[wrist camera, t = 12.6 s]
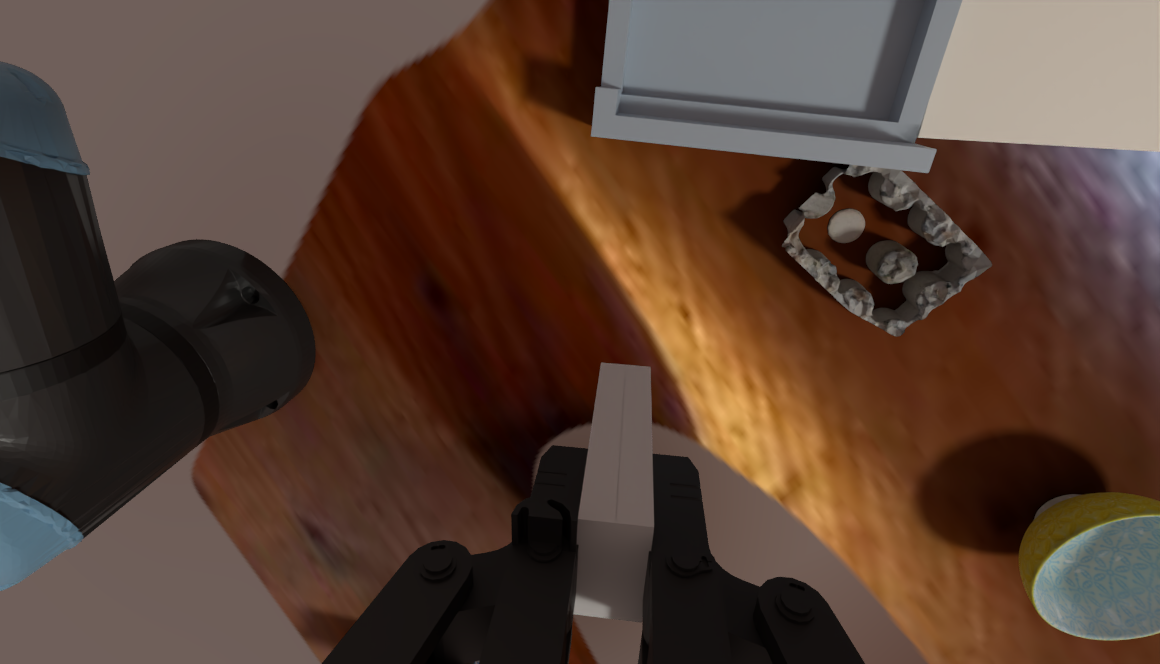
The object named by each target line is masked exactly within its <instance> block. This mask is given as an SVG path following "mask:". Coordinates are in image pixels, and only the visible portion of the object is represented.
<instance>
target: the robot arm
mask: <svg viewBox="0 0 1160 664" xmlns="http://www.w3.org/2000/svg"><path fill="white" fill-rule="evenodd" d="M89 174H90V172H89V168H88V166H87V164H86V163H84V162H83V161H82V160H81V156H80V153H79V151H78V147H77V145H76V142H75V139H74V136H73V133H72V130H71V128H70V124H69V122H68V118H67V115H66V112H65V109H64V106H63V104H62V102H61V100H60V98H59V97H58V95H57V94H56V93H55V91H54V90H53V89H52V88H51V87H50V86H49V85H48V84H47V83H45V82H44V81H43V80H42V79H40V78H39V77H37V76H36V75H34V74H33V73H31V72H29V71H27V70H25V69H22V68H20V67H17V66H15V65H11V64H8V63H4V62H0V591H2V590H5V589H7V588H9V587H11V586H13V585H15V584H17V583H19V582H21V581H22V580H24V579H25V578H26V577H28V576H29V575H31V574H32V573H33V572H35V571H36V570H38V569H39V568H41V567H42V566H43V565H45V564H46V563H48V562H49V561H50V560H52V559H53V558H54V557H56V556H58V555H59V554H60V553H62V552H63V551H65V550H67V549H71V548H73V547H75V546H76V545H77V544H78V543H79V542H81V541H82V539H83V538H85V537H86V536H87V535H88V534H89V533H91V532H92V531H93V530H94V529H96V528H97V527H98V526H99V525H101V524H102V523H103V522H104V521H106V520H107V519H108V518H109V517H110V516H112V515H113V514H114V513H115V512H116V511H118V510H119V509H120V508H121V507H123V506H124V505H125V504H126V503H127V502H129V501H130V500H131V499H132V498H134V497H135V496H136V495H137V494H139V493H140V492H141V491H142V490H144V489H145V488H146V487H147V486H149V485H150V484H151V483H152V482H153V481H155V480H156V479H157V478H158V477H160V476H161V475H162V474H163V473H164V472H166V471H167V470H168V469H169V468H171V467H172V466H173V465H174V464H176V462H178V461H179V460H180V459H182V458H183V457H184V456H185V455H187V454H188V453H189V452H190V451H191V450H193V449H194V448H195V447H197V446H198V445H199V444H200V443H202V442H203V441H204V440H205V439H207V438H208V437H210V436H212V435H215V434H218V433H221V432H224V431H226V430H229V429H232V428H235V427H238V426H240V425H243V424H246V423H249V422H252V421H255V420H257V419H260V418H263V417H266V416H268V415H270V414H272V413H274V412H276V411H277V410H279V409H280V408H282V407H283V406H284V405H285V404H287V403H288V402H289V401H290V400H291V399H292V398H294V397H295V396H296V395H297V394H298V393H299V392H300V391H301V390H302V389H303V388H304V387H305V385H306V384H307V382H308V381H309V379H310V377H311V374H312V371H313V368H314V363H315V341H314V335H313V331H312V328H311V325H310V322H309V319H308V317H307V315H306V313H305V310H304V309H303V307H302V305H301V303H300V302H299V300H298V298H297V297H296V296H295V294H294V293H293V291H292V290H291V289H290V288H289V286H288V285H287V284H286V283H285V282H284V281H283V280H282V279H281V278H280V277H279V276H278V275H277V274H276V273H275V272H274V271H273V270H272V269H271V268H269V267H268V266H267V265H266V264H264V263H263V262H261V261H260V260H258V259H257V258H255V257H254V256H252V255H250V254H249V253H247V252H245V251H243V250H240V249H238V248H236V247H233V246H231V245H228V244H225V243H221V242H216V241H211V240H187V241H182V242H178V243H175V244H172V245H169V246H166V247H163V248H160V249H157V250H155V251H152V252H150V253H148V254H146V255H145V256H143V257H141V258H140V259H139V260H137V261H136V262H135V263H134V264H132V266H131V267H130V268H129V269H128V270H127V271H126V272H124V273H123V274H122V275H121V276H120V277H119V278H117V279H116V280H115V281H114V280H113V276H112V273H111V269H110V265H109V262H108V259H107V255H106V251H105V247H104V243H103V240H102V236H101V232H100V228H99V224H98V220H97V216H96V212H95V208H94V204H93V200H92V196H91V191H90V187H89V183H88V179H87V175H89ZM511 516H512V542H511V543H510V544H508V545H507V546H505V547H503V548H501V549H499V550H495V551H492V552H487V553H481V554H475V555H471V554H470V553H469V551H468V550H467V549H466V547H464V546H462V545H461V544H459V543H457V542H453V541H446V540H442V541H436V542H430V543H428V544H426V545H424V546H422V547H420V548H418V549H417V550H416V551H415V552H414V553H413V554H411V555H410V556H409V557H408V559H407V560H406V561H405V562H404V563H403V565H402V566H401V567H400V568H399V570H398V571H397V572H396V573H395V575H394V576H393V577H392V578H391V579H390V581H389V582H388V583H387V584H386V586H385V587H384V588H383V589H382V590H381V592H380V593H379V594H378V595H377V597H376V598H375V599H374V600H373V601H372V603H371V604H370V605H369V606H368V608H367V609H366V610H365V611H364V612H363V614H362V615H361V616H360V617H359V619H358V620H357V621H356V622H355V624H354V625H353V626H352V627H351V628H350V630H349V631H348V632H347V633H346V635H345V636H344V637H343V638H342V639H341V641H340V642H339V643H338V644H337V646H336V647H335V648H334V649H333V650H332V652H331V653H330V654H329V655H328V657H327V658H326V659H325V660H324V662H323V663H322V664H474V663H475V661H479V664H568V662H569V654H570V646H571V638H572V621H573V614H577V615H585V616H593V617H602V618H610V619H618V620H626V621H635V622H642V617H643V630H642V638H641V645H640V653H639V660H638V664H865V663H864V661H863V660H862V658H861V657H860V655H859V653H858V652H857V650H856V648H855V647H854V645H853V644H852V642H851V640H850V639H849V637H848V635H847V634H846V632H845V630H844V629H843V627H842V626H841V624H840V622H839V621H838V619H837V618H836V616H835V614H834V613H833V611H832V610H831V608H830V606H829V605H828V603H827V602H826V601H825V599H824V598H823V597H822V596H821V595H820V594H819V592H818V591H816V590H815V589H813V588H811V587H810V586H809V585H807V584H806V583H804V582H801V581H798V580H796V579H793V578H785V577H776V578H773V579H770V580H767V581H766V582H765V583H764V584H763V585H762V586H761V587H759V586H756V585H754V584H751V583H748V582H746V581H743V580H741V579H739V578H737V577H734V576H733V575H731V574H729V573H728V572H727V571H725V570H724V569H722V567H721V566H720V565H719V564H718V563H717V562H716V561H715V559H714V557H713V556H712V554H711V552H710V549H709V545H708V538H707V531H706V523H705V516H704V510H703V502H702V495H701V489H700V480H699V473H698V470H697V469H696V467H695V466H694V465H693V463H692V462H691V460H690V459H689V458H688V457H680V456H670V455H660V454H652V414H651V371H650V367H645V366H633V365H622V364H610V363H601V367H600V374H599V380H598V387H597V394H596V401H595V407H594V414H593V421H592V427H591V434H590V441H589V447H588V449H585V448H575V447H565V446H564V447H563V446H554V445H553V446H551V448H550V449H549V450H548V451H547V452H546V453H545V454H544V455H543V456H542V457H541V460H540V464H539V468H538V473H537V475H536V479H535V484H534V486H533V490H532V494H531V497H530V498H527V499H525V500H523V501H522V502H521V503H519V504H518V505H517V506H516V507H515V509H514V511H513V512H512V514H511Z"/></svg>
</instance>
